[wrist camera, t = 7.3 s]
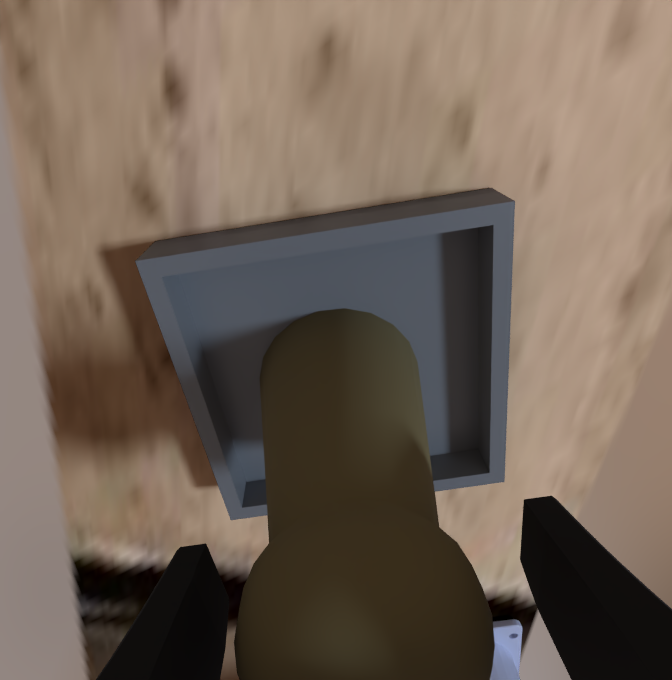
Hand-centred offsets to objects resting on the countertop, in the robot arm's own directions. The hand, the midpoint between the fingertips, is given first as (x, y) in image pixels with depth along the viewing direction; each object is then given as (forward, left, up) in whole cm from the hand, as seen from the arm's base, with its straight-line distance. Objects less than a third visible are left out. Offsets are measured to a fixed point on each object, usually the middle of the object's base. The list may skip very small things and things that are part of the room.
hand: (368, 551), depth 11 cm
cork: (0, 0, -8) cm, 8 cm away
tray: (0, 0, -8) cm, 8 cm away
